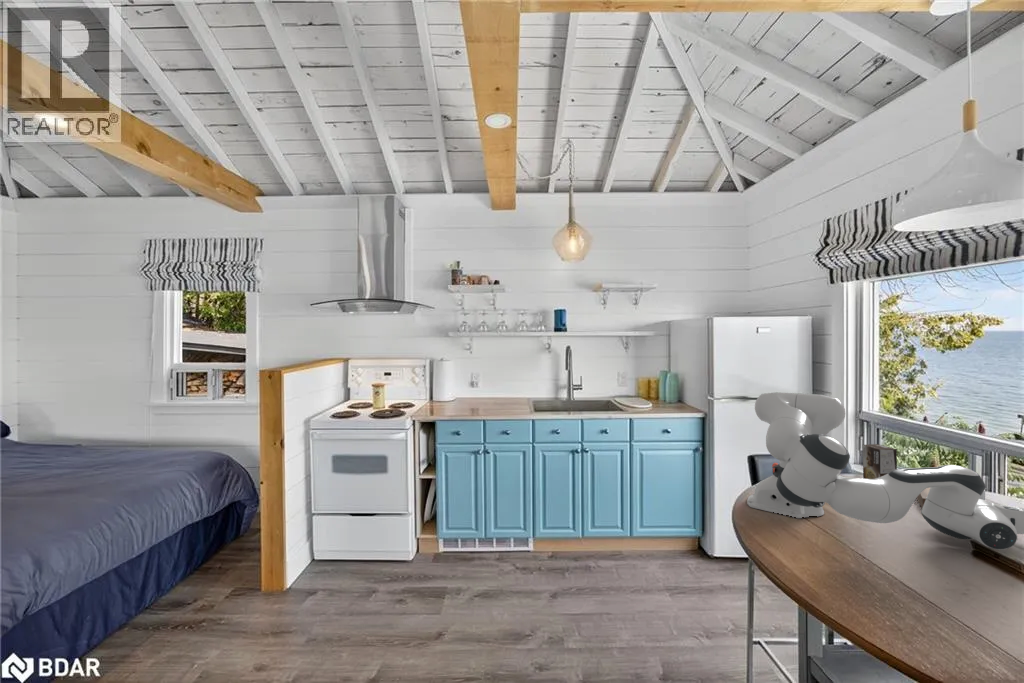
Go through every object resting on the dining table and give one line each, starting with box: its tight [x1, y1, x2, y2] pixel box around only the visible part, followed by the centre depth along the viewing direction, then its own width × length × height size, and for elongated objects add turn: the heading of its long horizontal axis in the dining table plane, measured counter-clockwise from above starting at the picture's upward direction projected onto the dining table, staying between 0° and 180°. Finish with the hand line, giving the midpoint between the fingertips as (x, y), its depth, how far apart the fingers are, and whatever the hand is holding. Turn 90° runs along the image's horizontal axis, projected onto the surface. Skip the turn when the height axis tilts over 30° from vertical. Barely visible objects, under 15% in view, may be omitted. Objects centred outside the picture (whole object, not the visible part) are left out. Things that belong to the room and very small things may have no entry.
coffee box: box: [862, 443, 898, 479], centre depth 176 cm, size 9×6×16 cm
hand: (969, 501), depth 142 cm, fingers closed on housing, 5 cm apart
